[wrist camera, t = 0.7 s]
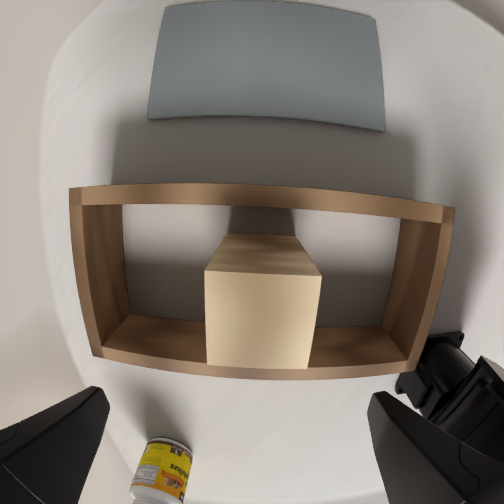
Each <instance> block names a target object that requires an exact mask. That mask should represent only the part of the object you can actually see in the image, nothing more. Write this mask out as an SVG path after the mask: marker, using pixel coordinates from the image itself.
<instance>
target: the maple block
mask: <svg viewBox="0 0 504 504" xmlns="http://www.w3.org/2000/svg"><path fill="white" fill-rule="evenodd" d="M204 279H205V324H206V349H207V365H215V366H227V367H242V368H263V369H307V367H308V362H309V356H310V351H311V345H312V340H313V334H314V328H315V322H316V315H317V309H318V302H319V295H320V288H321V280H322V275H321V274H320V272H319V271H318V269H317V268H316V266H315V265H314V263H313V262H312V260H311V258H310V257H309V255H308V254H307V252H306V251H305V249H304V248H303V246H302V245H301V243H300V242H299V240H298V239H297V237H296V236H282V235H263V234H242V233H227V235H226V236H225V238H224V239H223V241H222V243H221V244H220V246H219V248H218V249H217V251H216V252H215V254H214V256H213V257H212V259H211V261H210V262H209V264H208V266H207V267H206V269H205V270H204Z"/></svg>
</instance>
